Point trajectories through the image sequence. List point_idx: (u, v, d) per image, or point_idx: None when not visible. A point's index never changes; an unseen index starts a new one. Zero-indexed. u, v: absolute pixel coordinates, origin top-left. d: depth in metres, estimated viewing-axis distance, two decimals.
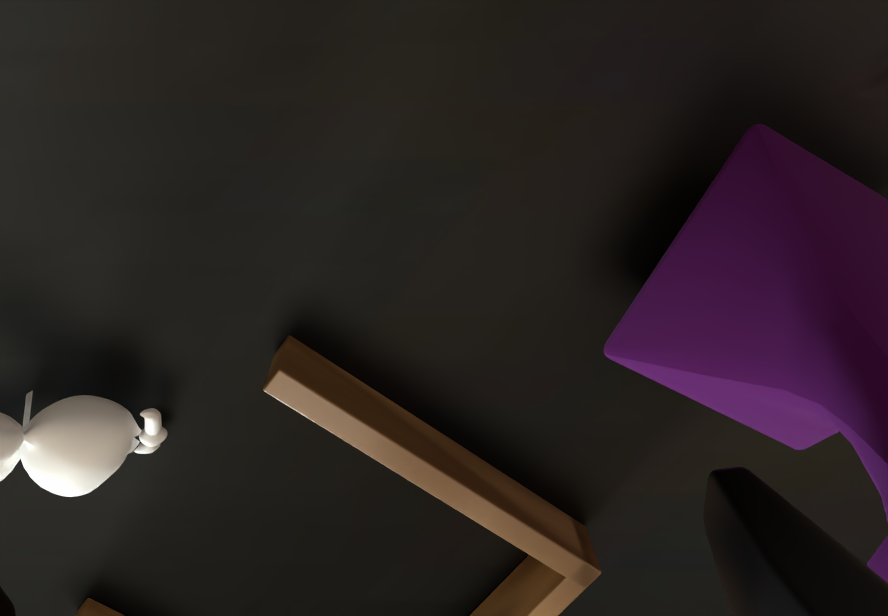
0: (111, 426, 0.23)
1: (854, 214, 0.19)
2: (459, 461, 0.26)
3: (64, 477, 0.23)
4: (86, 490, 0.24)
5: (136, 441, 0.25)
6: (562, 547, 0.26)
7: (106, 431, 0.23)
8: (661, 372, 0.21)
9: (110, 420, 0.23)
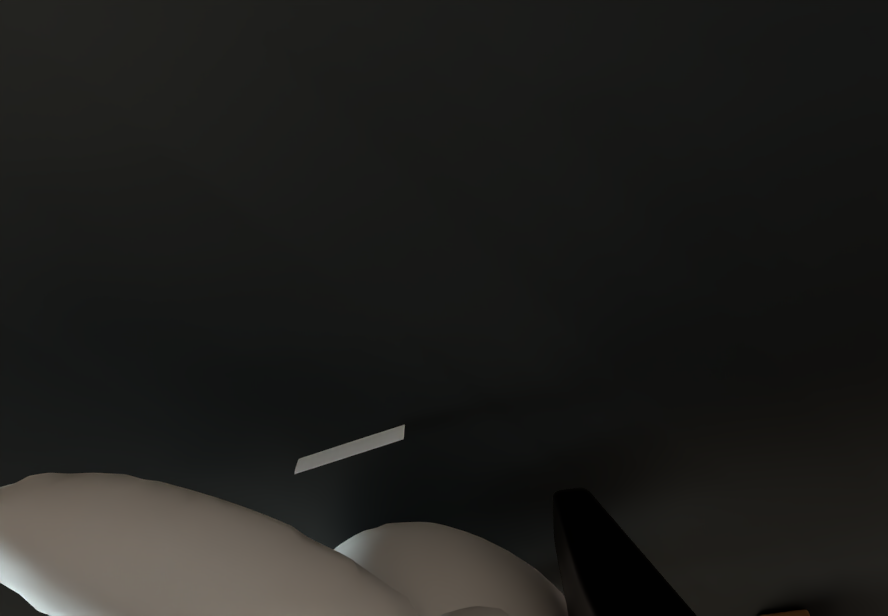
0: None
1: None
2: None
3: None
4: None
5: None
6: None
7: None
8: None
9: None
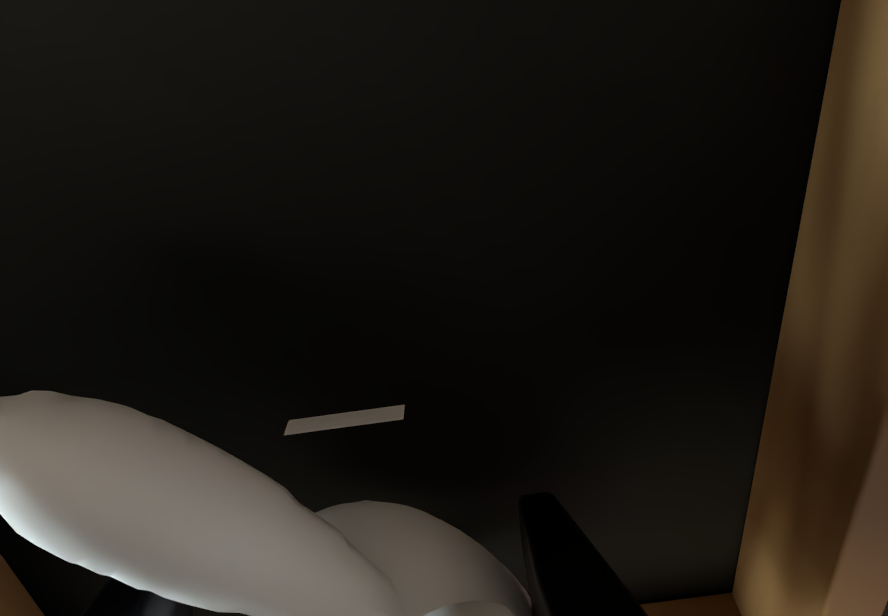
0: None
1: None
2: None
3: None
4: None
5: None
6: None
7: None
8: None
9: None
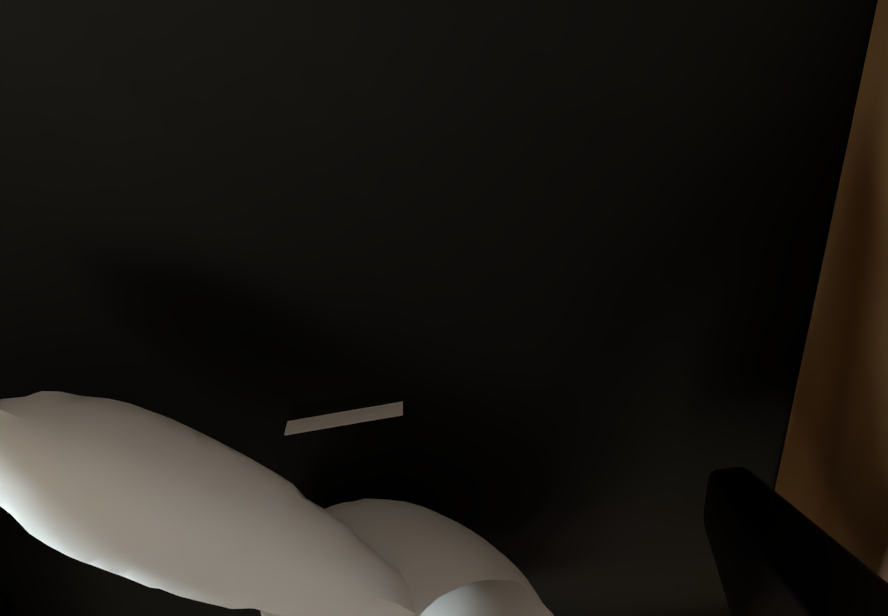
0: None
1: None
2: None
3: None
4: None
5: None
6: None
7: None
8: None
9: None
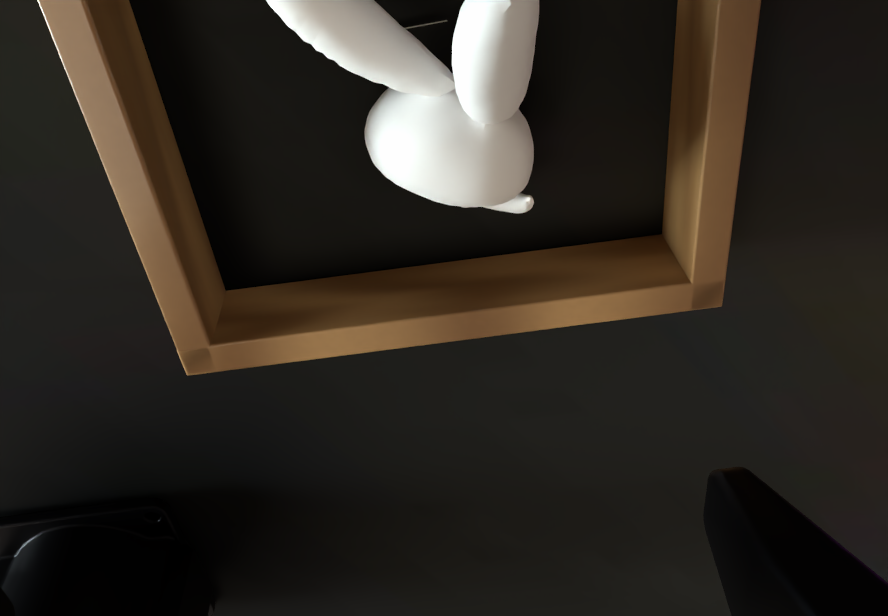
0: (522, 188, 0.17)
1: None
2: None
3: (448, 177, 0.16)
4: (414, 191, 0.17)
5: None
6: (728, 247, 0.19)
7: (518, 188, 0.17)
8: None
9: (527, 181, 0.17)
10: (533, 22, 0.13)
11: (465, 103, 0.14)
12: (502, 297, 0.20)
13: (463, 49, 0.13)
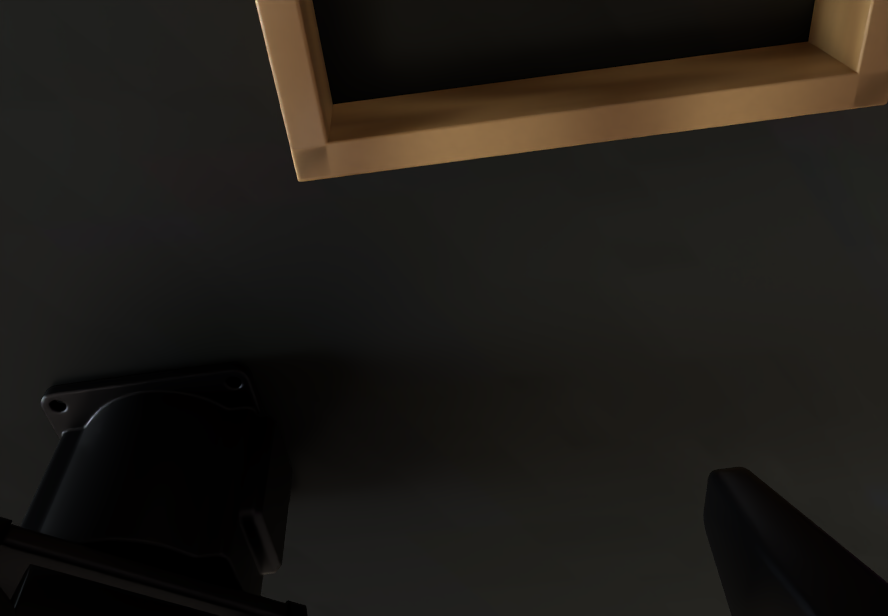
0: None
1: None
2: None
3: None
4: None
5: None
6: None
7: None
8: None
9: None
10: None
11: None
12: (646, 93, 0.18)
13: None
